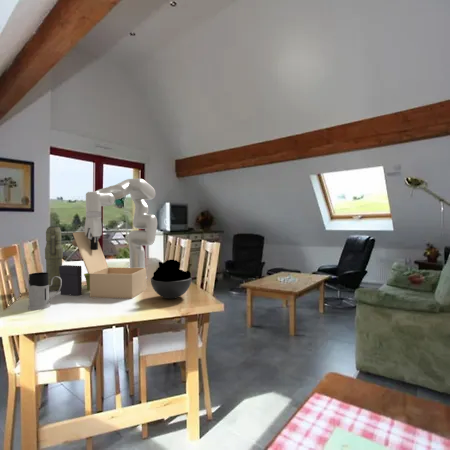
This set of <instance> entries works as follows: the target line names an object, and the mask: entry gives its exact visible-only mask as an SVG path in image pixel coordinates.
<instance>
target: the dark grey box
mask: <svg viewBox="0 0 450 450" xmlns="http://www.w3.org/2000/svg"><path fill="white" fill-rule="evenodd" d="M82 271H83V270H82V266H81V265H69V264H62V266H59V274H60V278H61V280H62V285H61V289H60V291H59V292H60V295H63V296H73V297H77V296H81V295H82V294H83V288H82V286H83V285H82V279H83V277H82V276H83V275H82V273H83V272H82ZM60 284H61V281H60Z"/></svg>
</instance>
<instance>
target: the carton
mask: <svg viewBox="0 0 450 450" xmlns="http://www.w3.org/2000/svg"><path fill="white" fill-rule="evenodd" d="M146 276H147V267H145V268H130V267H113V266H112V267H109V266H108V268H105V269H102V270H99V271H96V272H93V273H90V290H89V298H92V299H95V298H96V299H97V298H99V299H134V298H135V297H137V296H138V295H141V294H142V293H143V292H145V291H146V290H147V279H146Z"/></svg>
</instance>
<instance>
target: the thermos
mask: <svg viewBox="0 0 450 450" xmlns="http://www.w3.org/2000/svg"><path fill="white" fill-rule="evenodd" d="M45 241H46V243H45V248H44V259H45V263H46V264H45V272H46V273H48V284H49V285H51V280H52V278H53V277H55V276H58V277H60V274H59V266H63V258H64V247H63V245H62V230H61V227H59V226H49V227H47V228H46V230H45ZM58 277H55V278H54V279H53V281H52V285H51V286H49V292H58V290H59V288H60V279H59V278H58Z"/></svg>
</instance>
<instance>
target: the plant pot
mask: <svg viewBox="0 0 450 450" xmlns="http://www.w3.org/2000/svg"><path fill="white" fill-rule="evenodd" d="M83 277H84V278H85V282H86V289H87V291H90V274H88V272H87V273H84V274H83Z"/></svg>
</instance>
